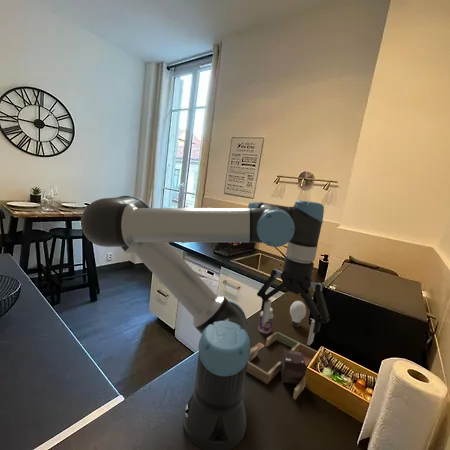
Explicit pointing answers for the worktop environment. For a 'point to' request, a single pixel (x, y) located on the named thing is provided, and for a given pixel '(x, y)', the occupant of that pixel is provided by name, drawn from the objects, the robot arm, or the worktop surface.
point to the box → (292, 367)
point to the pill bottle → (266, 323)
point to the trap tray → (267, 377)
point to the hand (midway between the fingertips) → (286, 331)
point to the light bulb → (297, 313)
